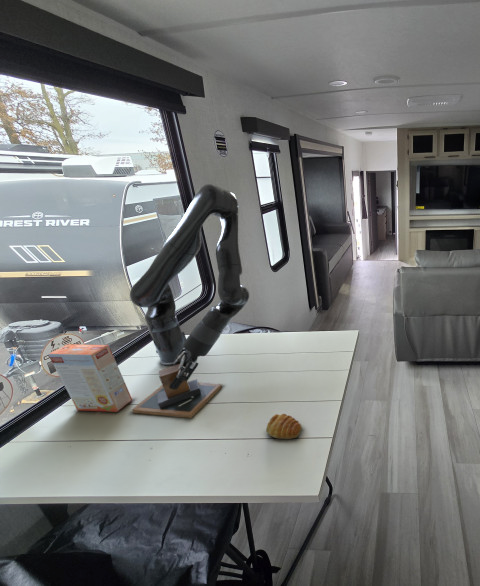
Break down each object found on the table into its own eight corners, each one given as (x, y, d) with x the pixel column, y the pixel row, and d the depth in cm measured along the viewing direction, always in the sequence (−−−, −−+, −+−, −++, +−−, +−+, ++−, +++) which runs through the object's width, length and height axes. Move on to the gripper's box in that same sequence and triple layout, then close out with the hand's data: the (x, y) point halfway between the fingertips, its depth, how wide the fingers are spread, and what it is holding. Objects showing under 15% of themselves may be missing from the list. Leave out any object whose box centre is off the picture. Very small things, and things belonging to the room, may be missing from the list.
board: (169, 383, 107) (168, 380, 107) (221, 387, 104) (220, 384, 104) (133, 412, 94) (131, 409, 94) (191, 418, 91) (190, 414, 91)
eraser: (159, 398, 98) (148, 372, 94) (198, 383, 104) (190, 358, 100) (160, 408, 94) (149, 382, 90) (201, 393, 100) (192, 367, 96)
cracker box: (134, 399, 100) (109, 343, 92) (117, 413, 94) (89, 355, 86) (95, 397, 101) (68, 342, 93) (76, 410, 96) (45, 353, 88)
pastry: (307, 425, 87) (305, 415, 86) (293, 445, 81) (291, 434, 80) (279, 418, 90) (277, 408, 89) (264, 436, 84) (261, 426, 83)
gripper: (218, 351, 95) (185, 396, 93) (211, 333, 106) (181, 374, 104) (194, 342, 90) (159, 390, 89) (189, 324, 101) (157, 366, 99)
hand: (171, 381), depth 96 cm, fingers open, 8 cm apart
